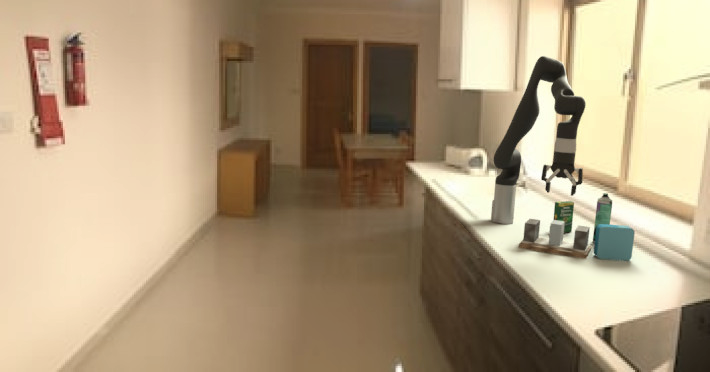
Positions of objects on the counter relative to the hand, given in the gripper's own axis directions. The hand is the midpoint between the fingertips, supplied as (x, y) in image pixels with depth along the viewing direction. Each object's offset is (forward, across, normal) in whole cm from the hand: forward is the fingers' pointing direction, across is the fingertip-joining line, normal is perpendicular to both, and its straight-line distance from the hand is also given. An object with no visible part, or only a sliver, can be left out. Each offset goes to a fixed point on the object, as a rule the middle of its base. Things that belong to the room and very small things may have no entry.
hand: (560, 193), depth 217 cm
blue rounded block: (+21, +20, 0) cm, 29 cm away
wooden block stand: (+21, 0, 0) cm, 21 cm away
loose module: (+19, 0, 0) cm, 19 cm away
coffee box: (+22, -2, +30) cm, 37 cm away
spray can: (+21, +14, +21) cm, 33 cm away
